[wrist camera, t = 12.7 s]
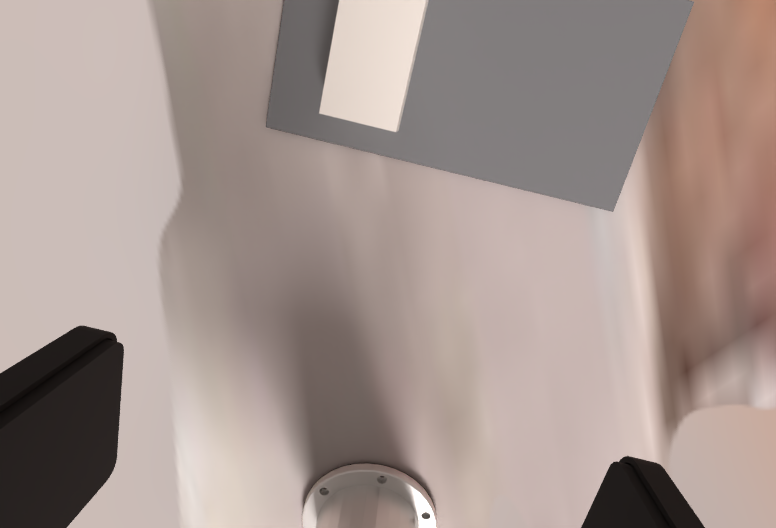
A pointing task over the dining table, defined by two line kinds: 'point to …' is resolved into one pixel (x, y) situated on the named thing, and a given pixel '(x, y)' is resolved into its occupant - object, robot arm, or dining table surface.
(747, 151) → the dining table surface
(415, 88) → the mat
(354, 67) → the white rectangular block
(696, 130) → the dining table surface
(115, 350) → the robot arm
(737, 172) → the dining table surface
